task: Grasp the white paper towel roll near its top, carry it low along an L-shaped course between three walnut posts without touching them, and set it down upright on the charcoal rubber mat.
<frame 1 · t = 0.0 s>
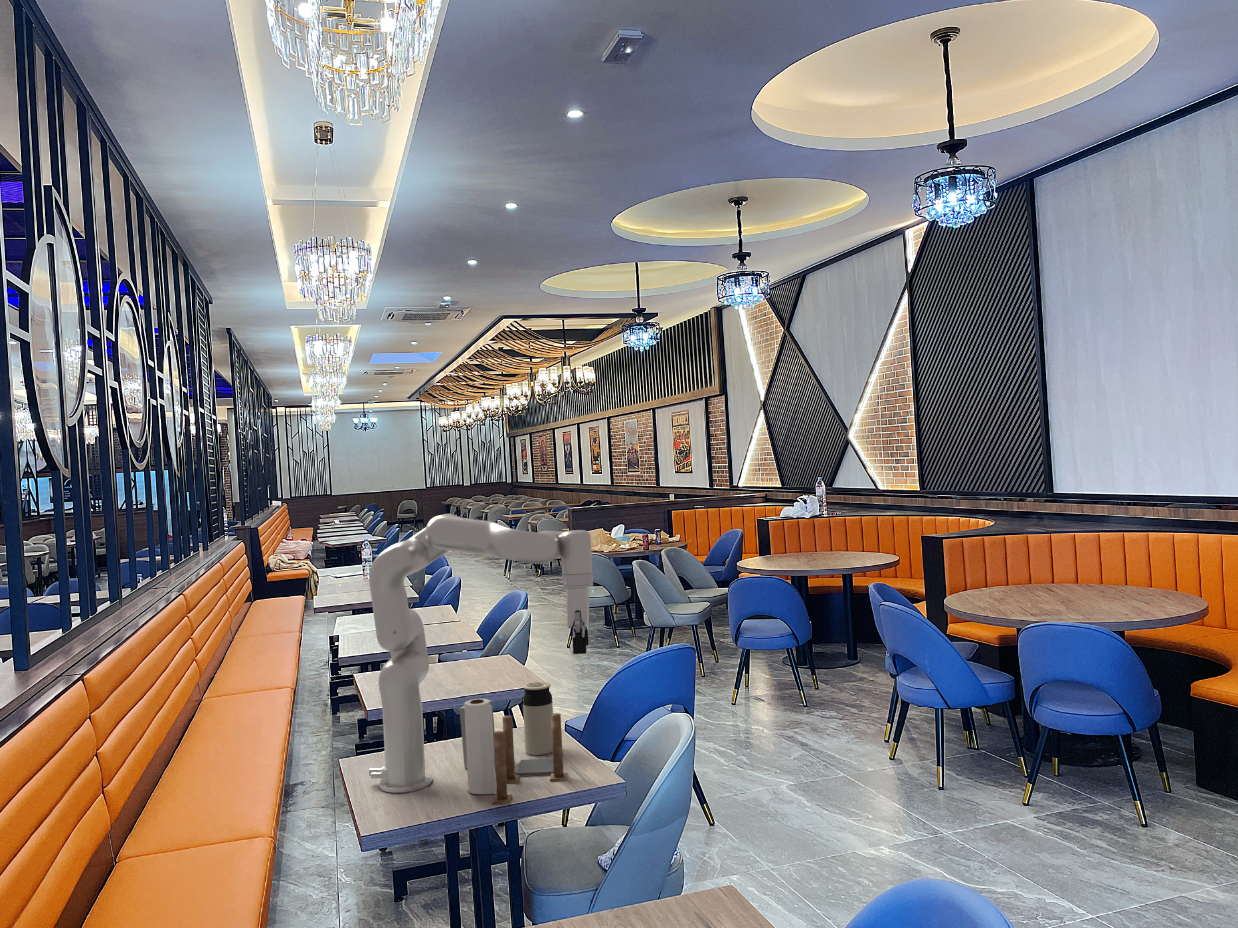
hand: (581, 649, 211), 31 cm above the table, tool pointing down, fingers open, 9 cm apart
travel mug: (540, 751, 232), on the table
post 1: (502, 800, 197), on the table
mat: (538, 768, 218), on the table
skincare box: (479, 764, 224), on the table
post 3: (558, 777, 210), on the table
post 2: (510, 780, 210), on the table
paper towel roll: (481, 791, 204), on the table
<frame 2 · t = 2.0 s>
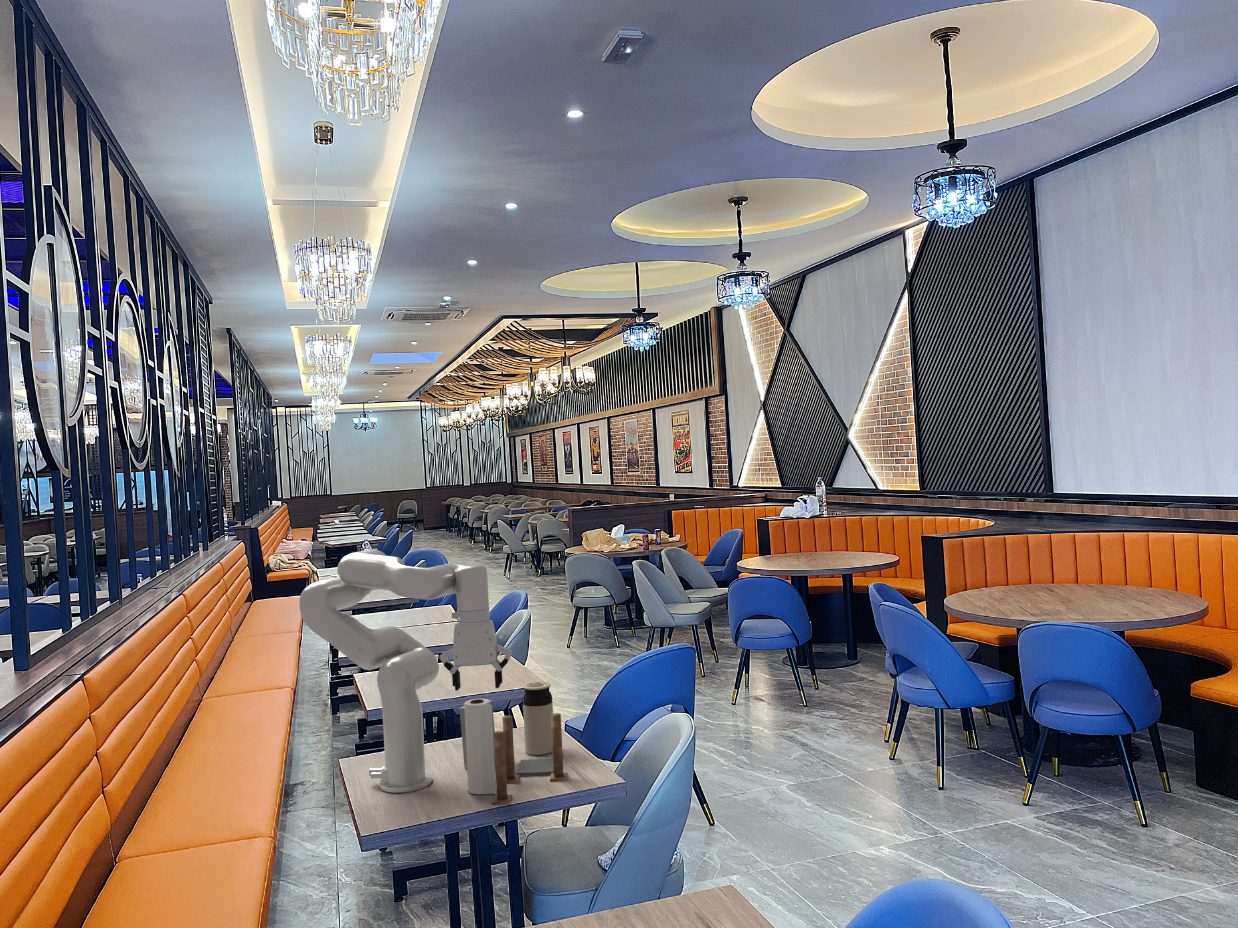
hand: (477, 687, 204), 25 cm above the table, tool pointing down, fingers open, 9 cm apart
nothing on the table moved.
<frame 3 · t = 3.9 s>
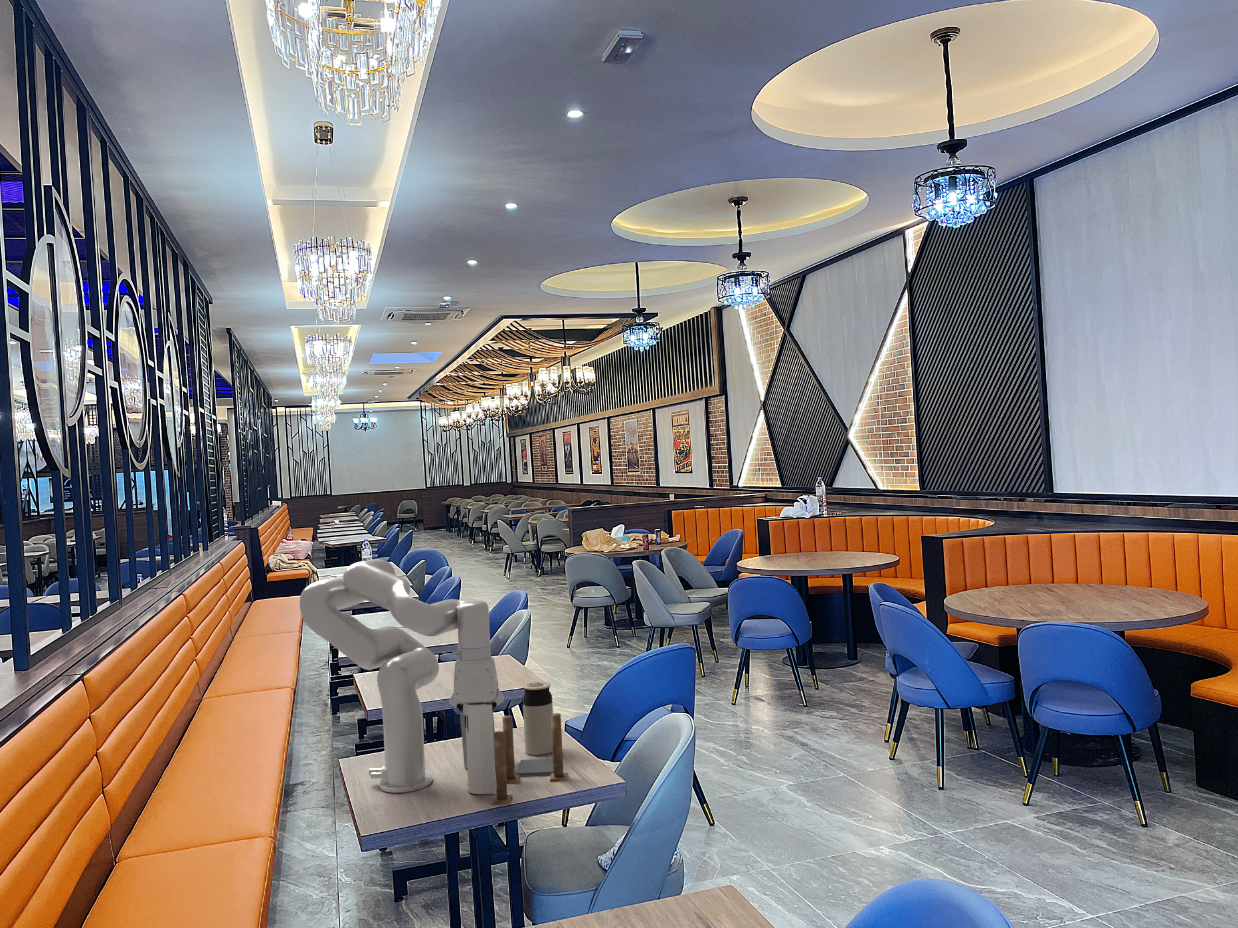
hand: (478, 729, 204), 15 cm above the table, tool pointing down, fingers closed on paper towel roll, 3 cm apart
paper towel roll: (481, 791, 204), on the table, touching gripper
everything else where it was.
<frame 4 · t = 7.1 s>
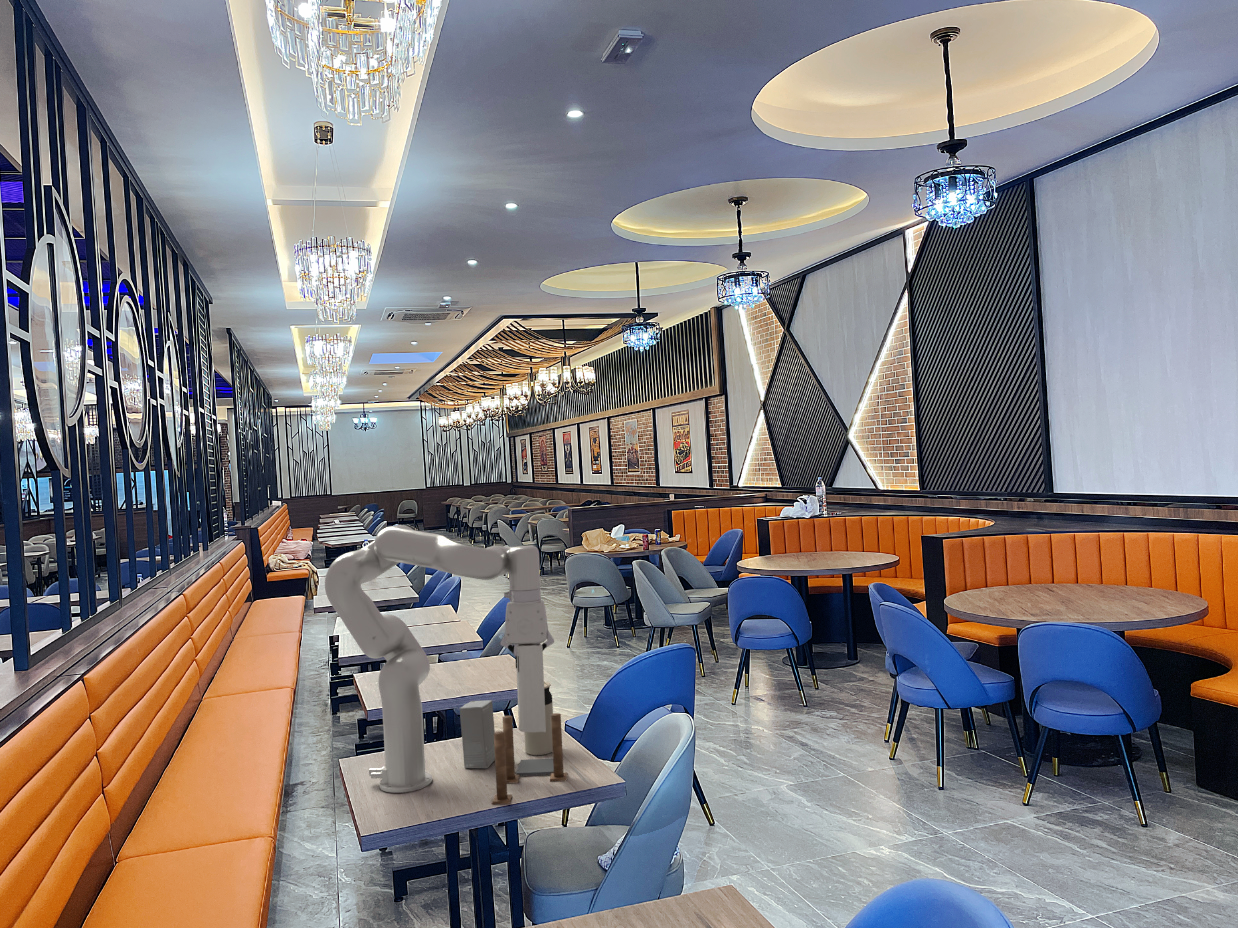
hand: (528, 670, 210), 27 cm above the table, tool pointing down, fingers closed on paper towel roll, 3 cm apart
paper towel roll: (531, 730, 209), point 12 cm above the table, touching gripper
everything else where it was.
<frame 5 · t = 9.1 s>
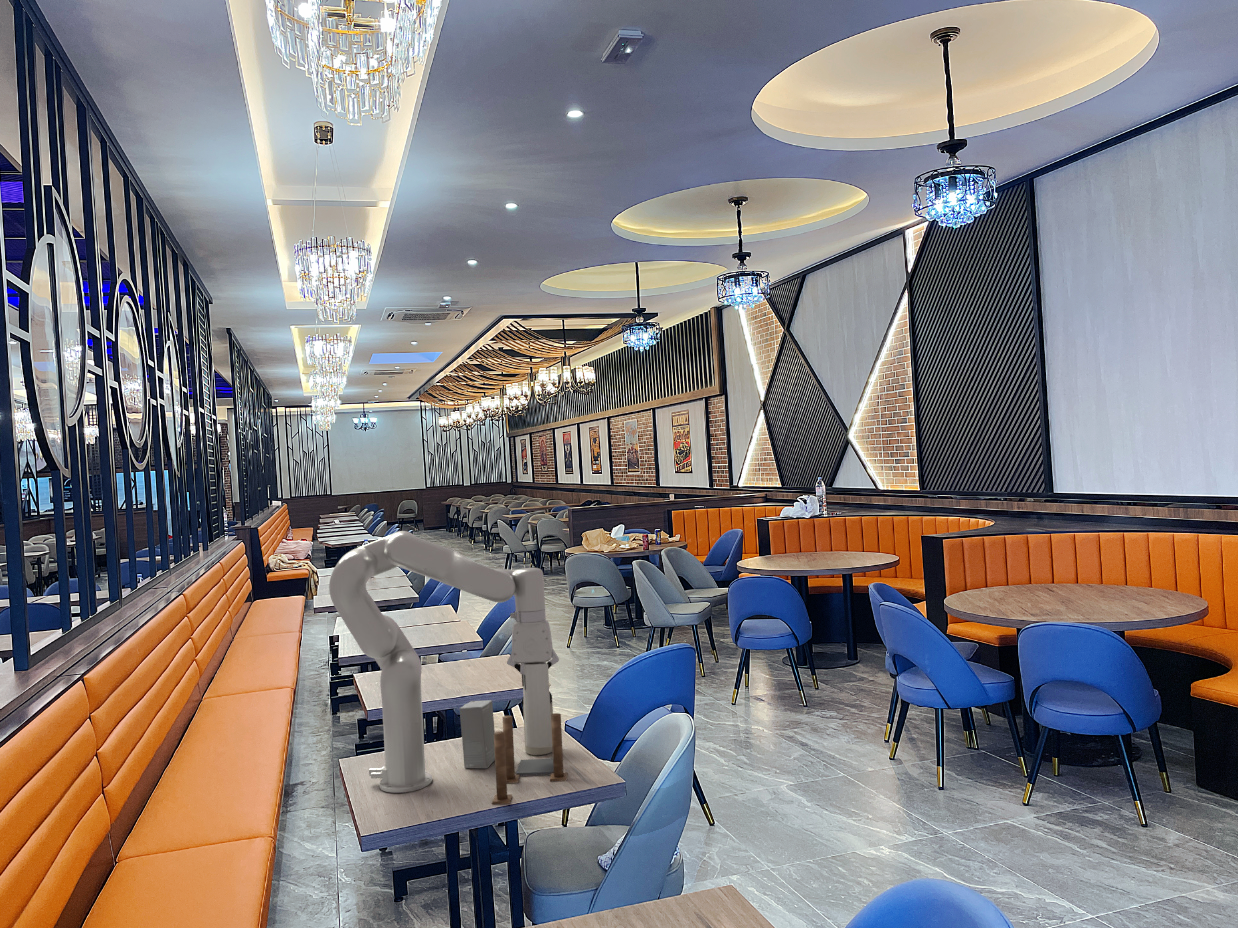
hand: (534, 687, 218), 21 cm above the table, tool pointing down, fingers closed on paper towel roll, 3 cm apart
paper towel roll: (538, 745, 218), point 6 cm above the table, touching gripper
everything else where it was.
when the fingers open (17 cm above the table, at t = 10.5 s): paper towel roll drops 1 cm, resting on mat.
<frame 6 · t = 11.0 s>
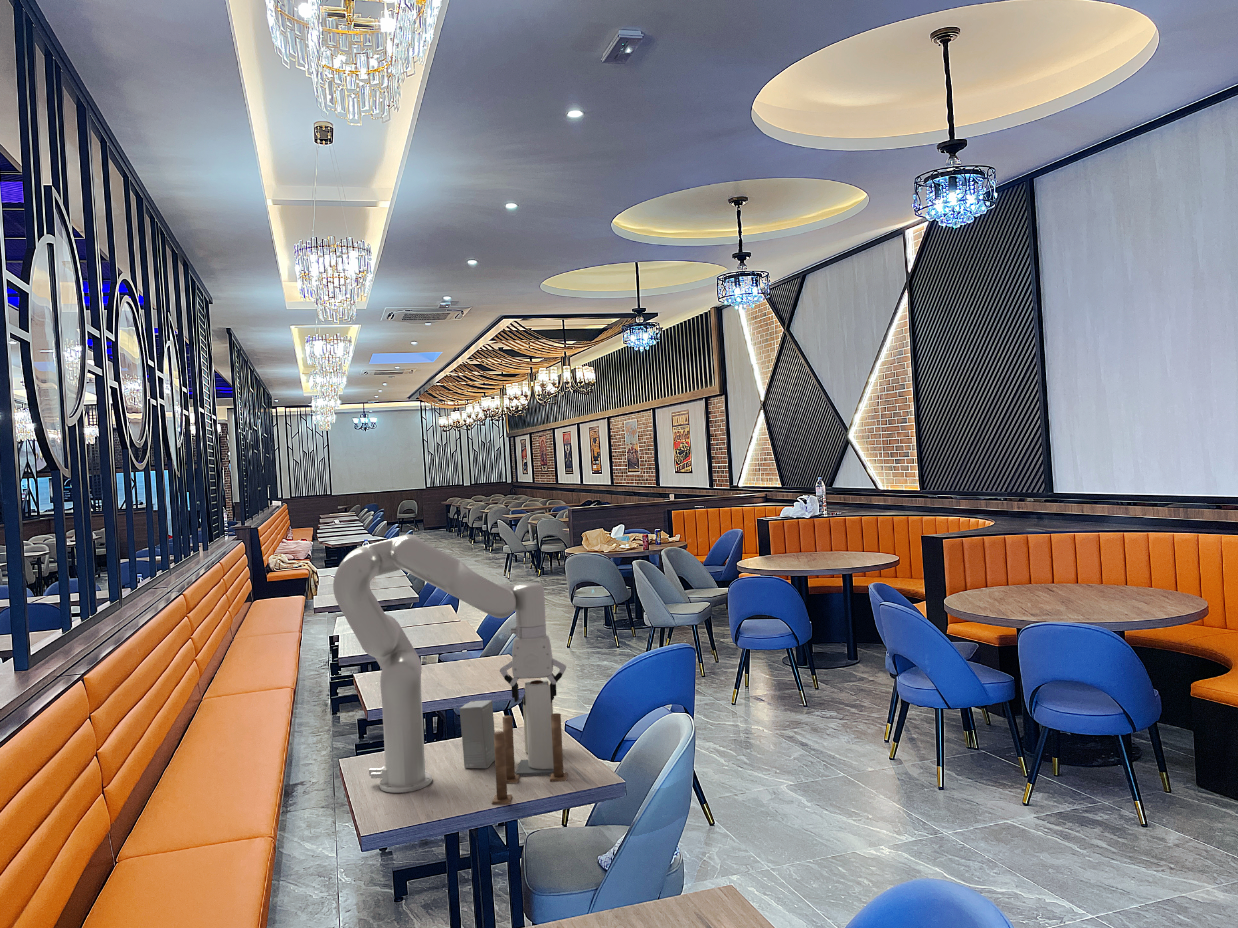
hand: (534, 699, 218), 18 cm above the table, tool pointing down, fingers open, 8 cm apart
paper towel roll: (540, 766, 217), point 1 cm above the table, touching mat
everything else where it was.
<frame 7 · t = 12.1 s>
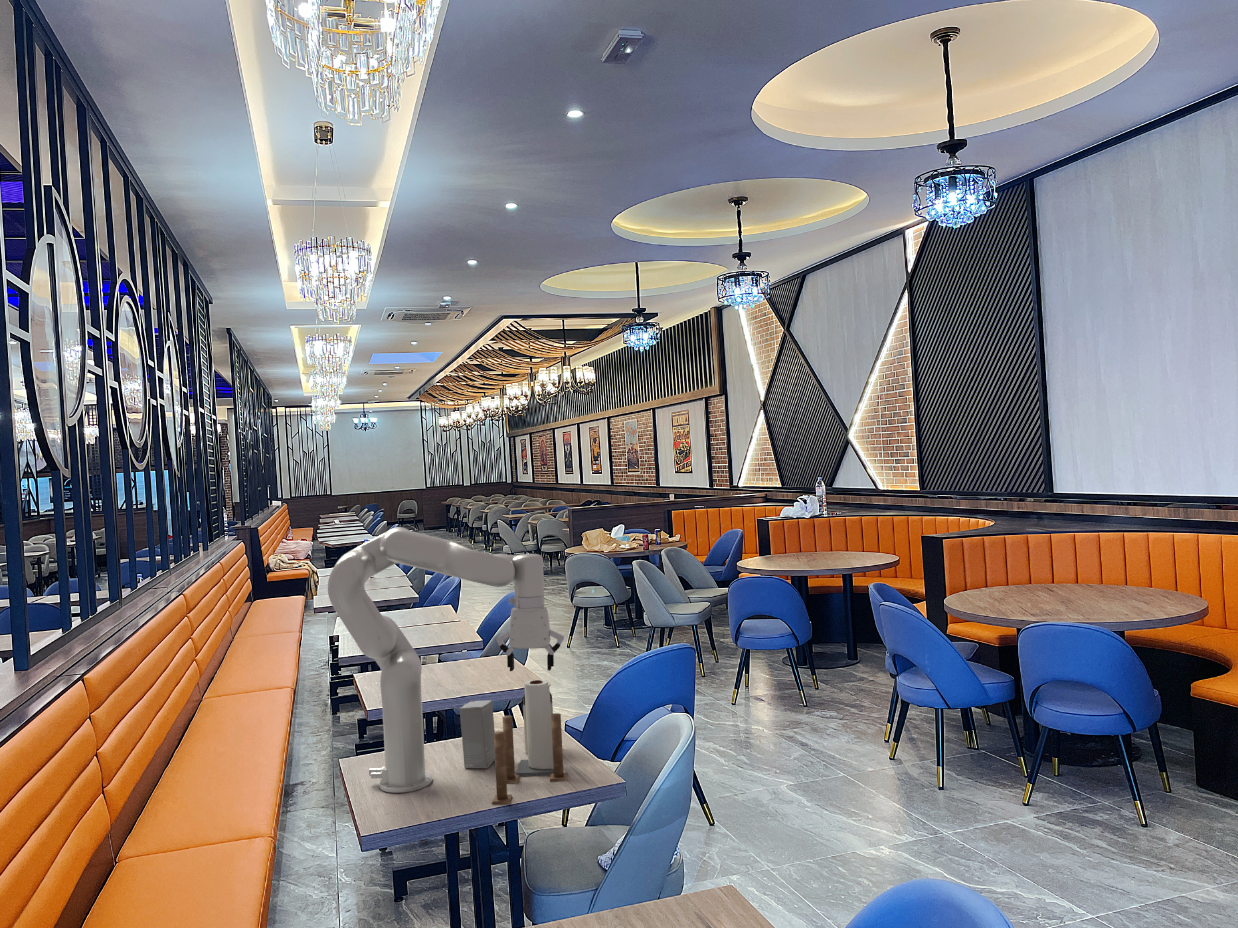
hand: (530, 669, 218), 25 cm above the table, tool pointing down, fingers open, 9 cm apart
nothing on the table moved.
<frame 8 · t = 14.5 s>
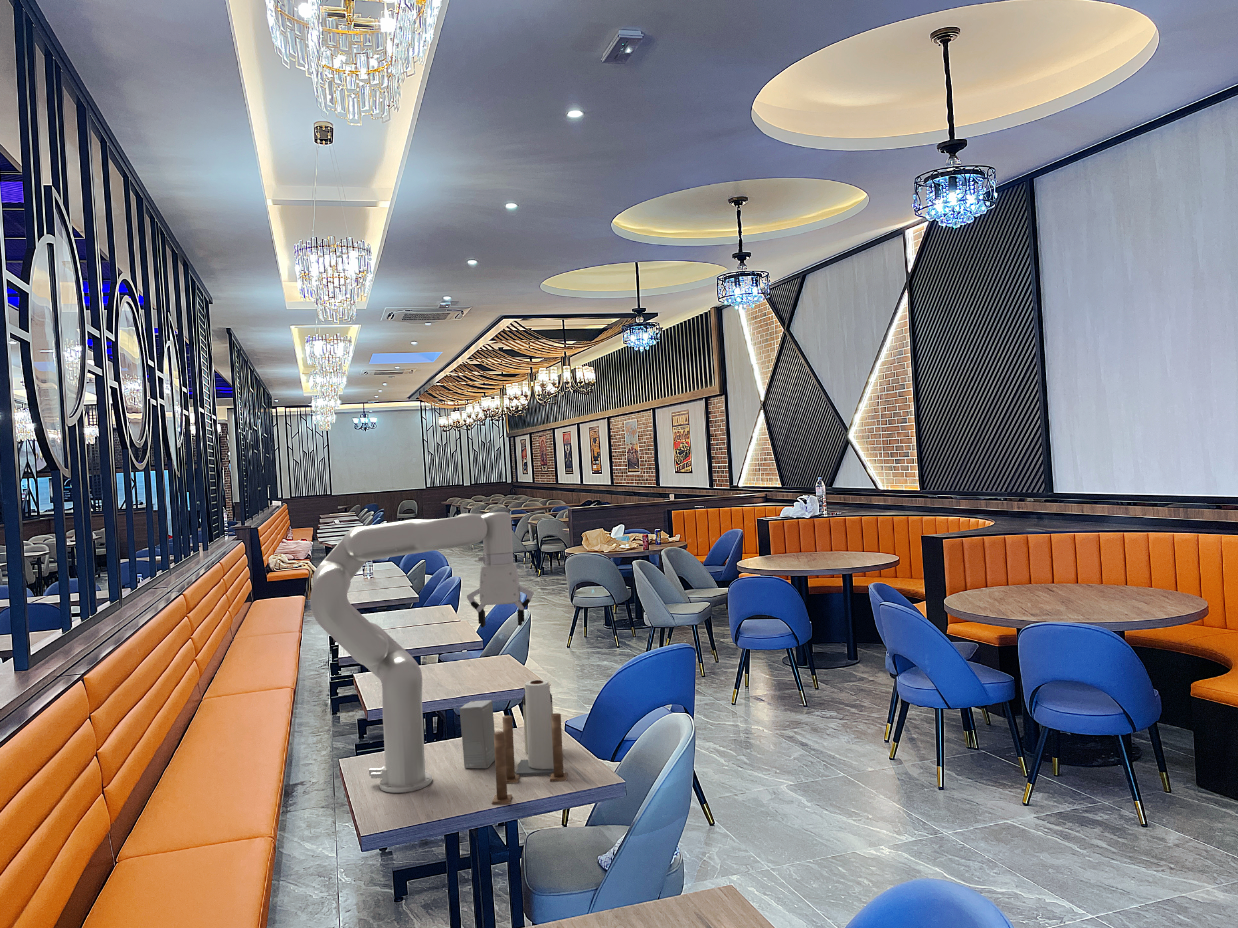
hand: (501, 625, 221), 36 cm above the table, tool pointing down, fingers open, 9 cm apart
nothing on the table moved.
at the end: paper towel roll inside the target area on the mat (1.1 cm from its centre), point 0.6 cm above the mat's base; paper towel roll tilted 0°; post 2 moved 0.0 cm from its start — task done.
